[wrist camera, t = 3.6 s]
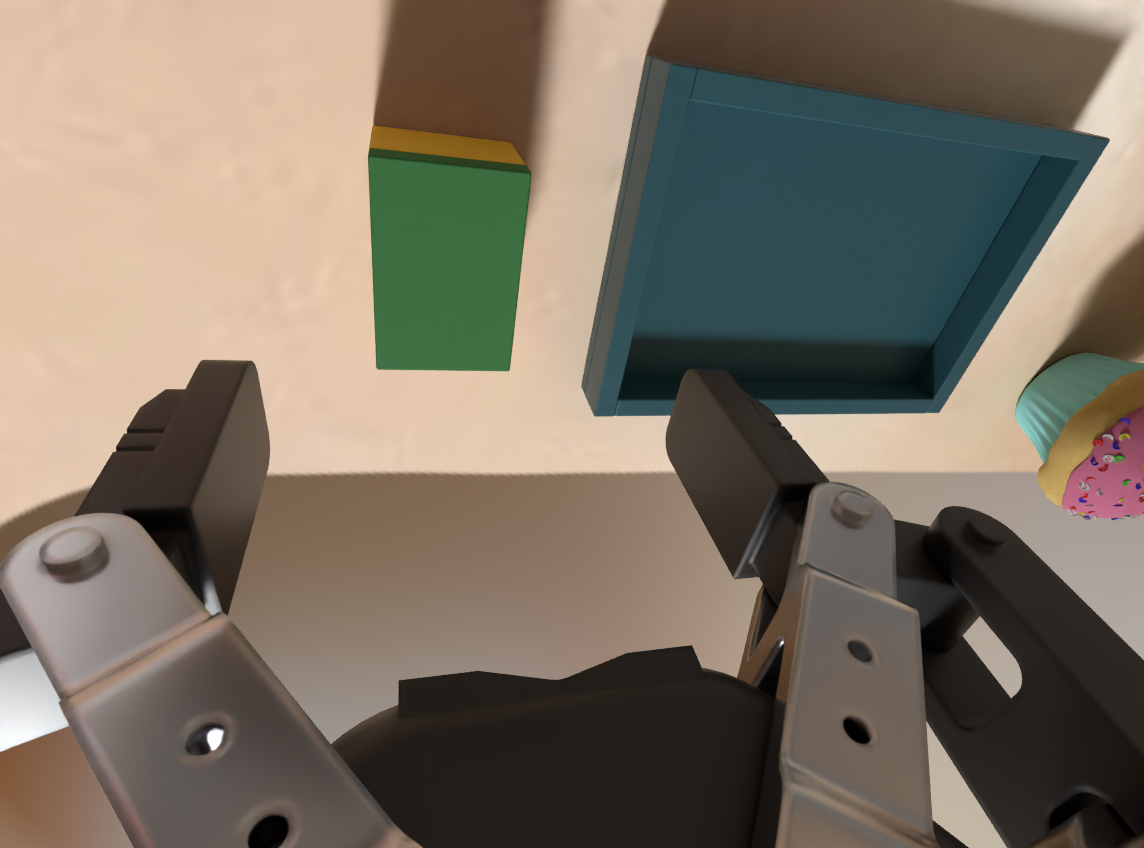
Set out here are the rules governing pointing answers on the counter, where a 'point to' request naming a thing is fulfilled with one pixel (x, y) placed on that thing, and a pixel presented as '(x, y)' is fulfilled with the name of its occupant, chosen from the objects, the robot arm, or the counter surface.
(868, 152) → the tray
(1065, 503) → the cupcake
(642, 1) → the counter surface
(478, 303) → the sponge
